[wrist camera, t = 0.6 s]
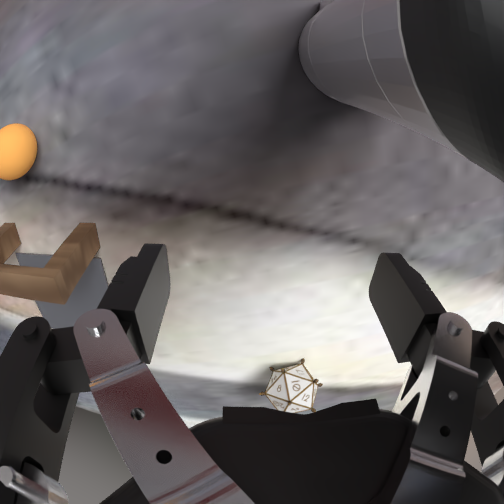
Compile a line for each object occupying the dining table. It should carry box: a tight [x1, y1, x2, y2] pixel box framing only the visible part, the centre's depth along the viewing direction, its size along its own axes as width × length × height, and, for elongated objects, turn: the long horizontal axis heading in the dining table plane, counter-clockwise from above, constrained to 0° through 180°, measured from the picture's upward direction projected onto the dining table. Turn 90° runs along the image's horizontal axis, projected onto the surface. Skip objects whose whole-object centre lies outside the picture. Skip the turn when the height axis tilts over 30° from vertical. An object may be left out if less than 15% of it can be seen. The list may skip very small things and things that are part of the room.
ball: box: [0, 124, 37, 180], centre depth 20 cm, size 6×6×6 cm
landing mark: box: [16, 253, 108, 329], centre depth 34 cm, size 14×14×1 cm
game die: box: [259, 358, 323, 413], centre depth 39 cm, size 9×8×10 cm
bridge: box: [0, 223, 100, 305], centre depth 25 cm, size 3×15×9 cm, turn 86°
